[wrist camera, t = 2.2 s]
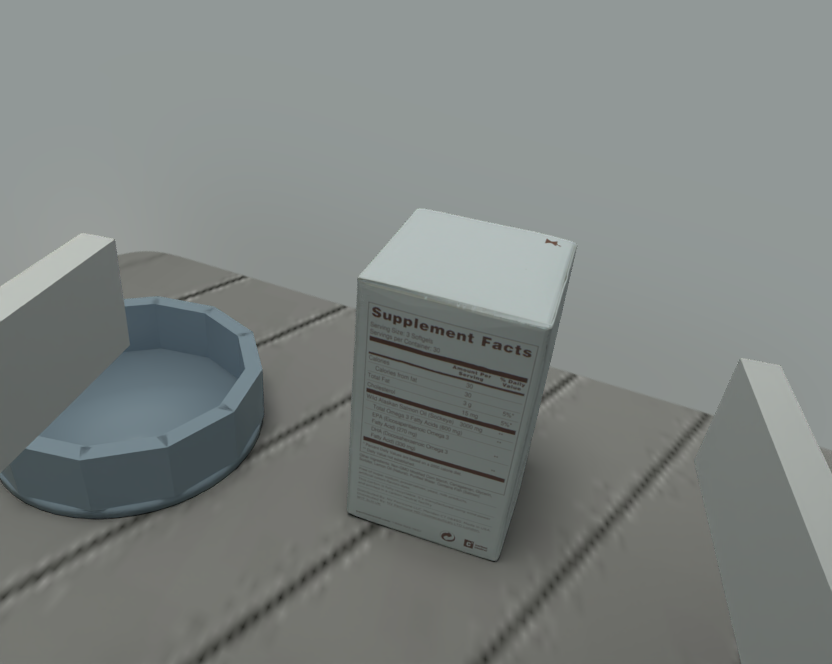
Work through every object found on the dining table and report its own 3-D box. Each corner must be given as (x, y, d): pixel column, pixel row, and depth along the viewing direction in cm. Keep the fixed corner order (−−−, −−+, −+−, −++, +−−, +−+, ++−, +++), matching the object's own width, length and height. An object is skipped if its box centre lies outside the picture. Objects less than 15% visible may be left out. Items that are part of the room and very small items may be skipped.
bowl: (296, 373, 40) (296, 321, 38) (195, 545, 29) (187, 486, 27) (92, 333, 41) (81, 281, 39) (-76, 484, 30) (-101, 423, 28)
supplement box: (395, 419, 37) (417, 201, 30) (529, 459, 35) (584, 238, 28) (340, 516, 31) (351, 273, 24) (497, 569, 29) (557, 324, 22)
